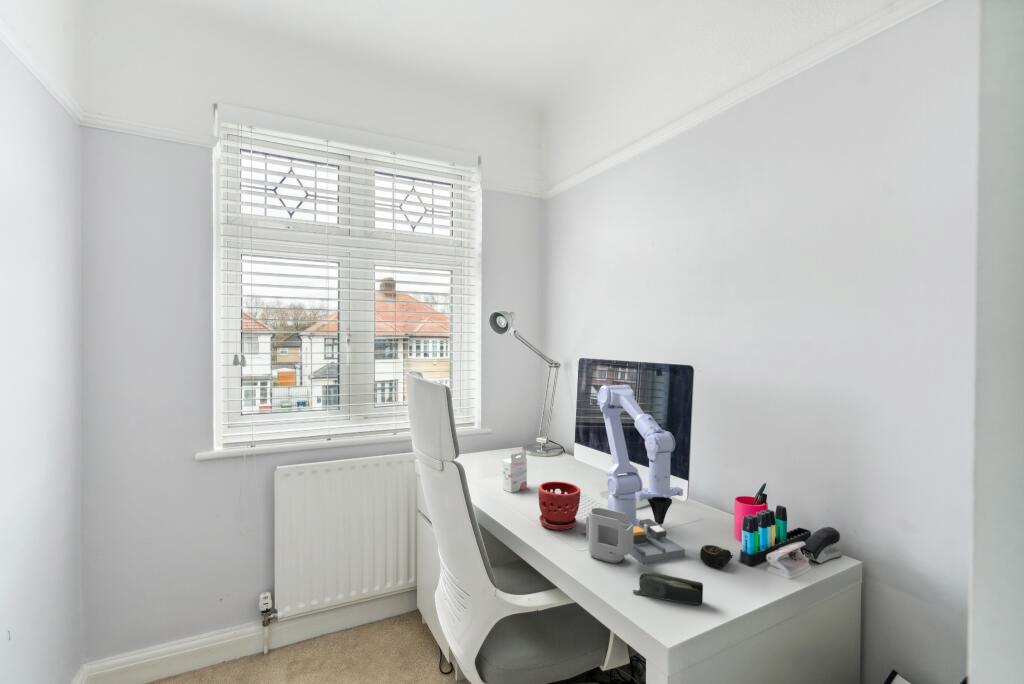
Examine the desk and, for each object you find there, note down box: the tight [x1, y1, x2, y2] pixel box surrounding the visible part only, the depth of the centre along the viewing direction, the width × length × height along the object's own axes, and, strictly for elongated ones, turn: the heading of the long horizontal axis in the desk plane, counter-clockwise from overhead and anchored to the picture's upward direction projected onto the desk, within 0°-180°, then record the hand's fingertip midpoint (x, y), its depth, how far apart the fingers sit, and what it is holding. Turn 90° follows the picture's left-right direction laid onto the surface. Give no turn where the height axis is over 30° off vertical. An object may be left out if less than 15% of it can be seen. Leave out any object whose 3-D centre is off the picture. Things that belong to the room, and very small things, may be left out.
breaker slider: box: [633, 526, 646, 544], centre depth 131 cm, size 4×4×3 cm
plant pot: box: [538, 481, 581, 531], centre depth 147 cm, size 13×13×12 cm
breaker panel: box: [628, 523, 686, 565], centre depth 132 cm, size 17×13×5 cm
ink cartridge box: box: [502, 451, 528, 494], centre depth 182 cm, size 9×5×15 cm, turn 132°
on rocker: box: [639, 518, 668, 538], centre depth 135 cm, size 8×3×2 cm, turn 19°
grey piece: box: [585, 507, 633, 564], centre depth 125 cm, size 7×12×12 cm, turn 56°
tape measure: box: [699, 544, 734, 569], centre depth 122 cm, size 7×7×4 cm
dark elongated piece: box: [632, 571, 704, 607], centre depth 106 cm, size 5×3×15 cm
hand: (659, 522), depth 132 cm, fingers closed
